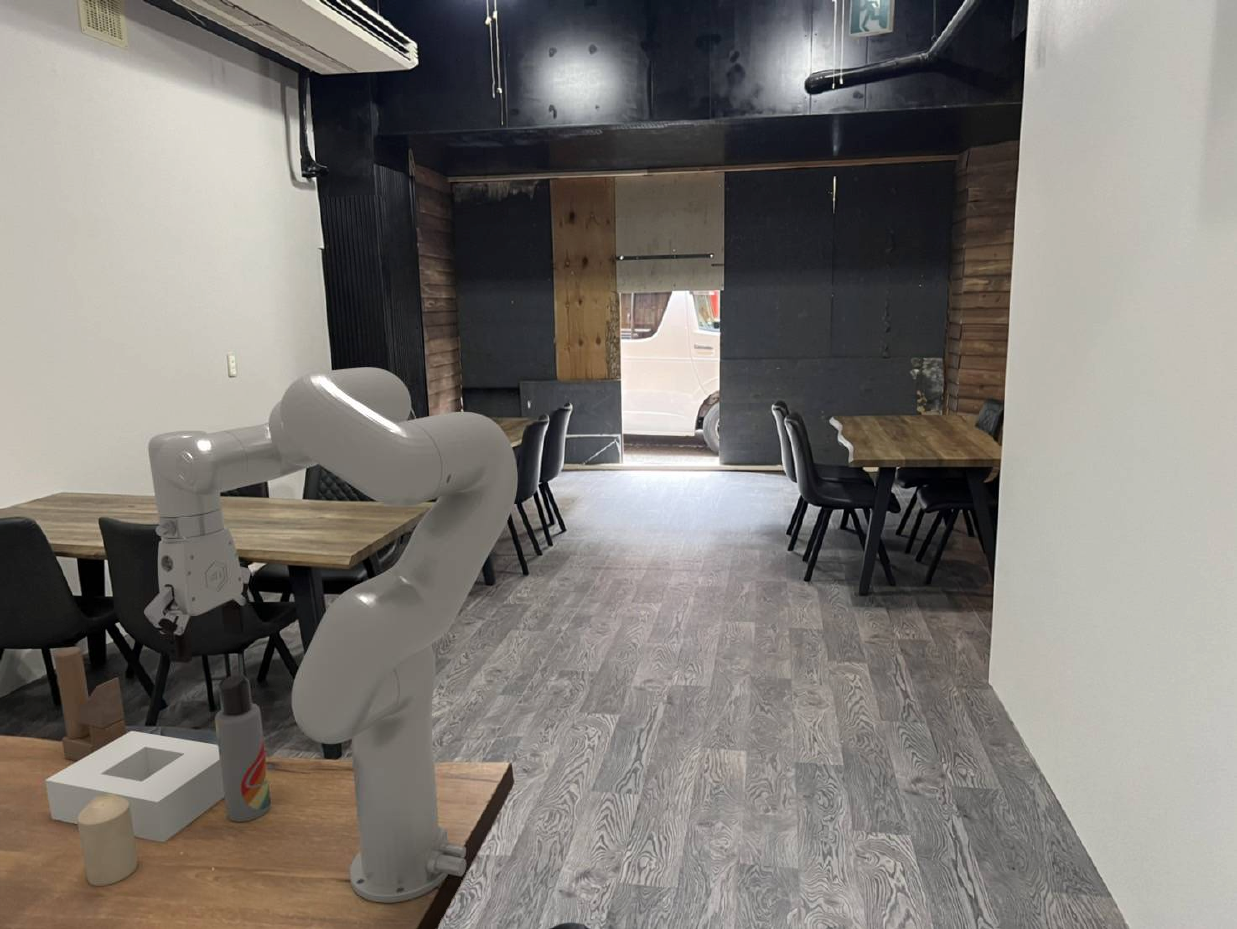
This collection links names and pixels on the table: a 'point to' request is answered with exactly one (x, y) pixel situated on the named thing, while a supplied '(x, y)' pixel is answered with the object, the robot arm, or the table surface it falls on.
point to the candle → (107, 840)
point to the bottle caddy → (143, 782)
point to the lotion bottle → (241, 751)
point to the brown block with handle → (87, 707)
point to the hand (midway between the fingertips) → (209, 646)
